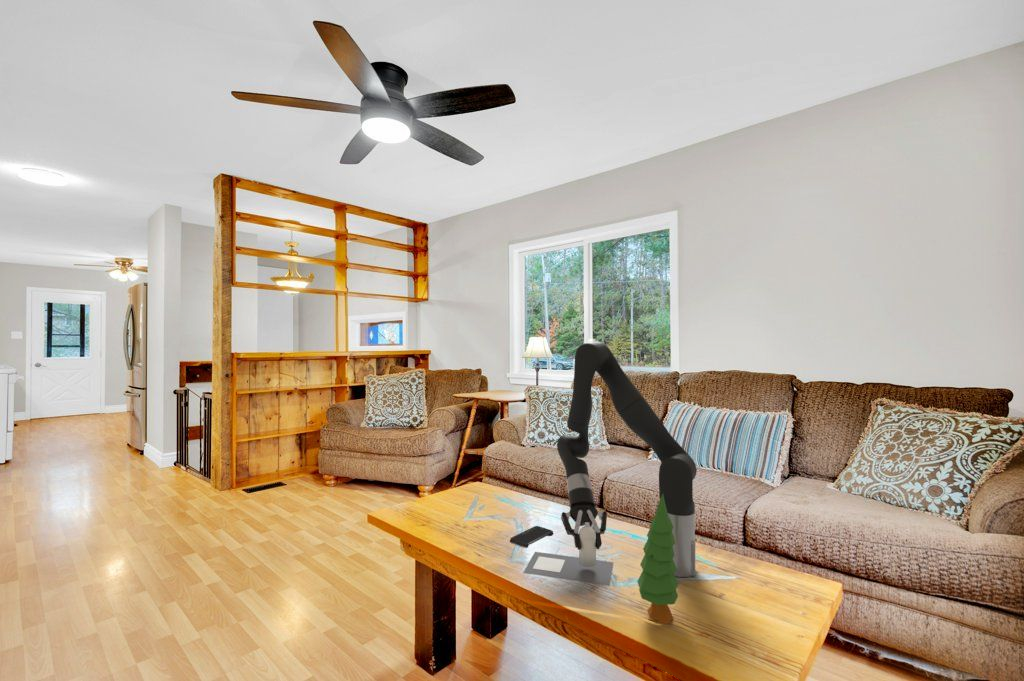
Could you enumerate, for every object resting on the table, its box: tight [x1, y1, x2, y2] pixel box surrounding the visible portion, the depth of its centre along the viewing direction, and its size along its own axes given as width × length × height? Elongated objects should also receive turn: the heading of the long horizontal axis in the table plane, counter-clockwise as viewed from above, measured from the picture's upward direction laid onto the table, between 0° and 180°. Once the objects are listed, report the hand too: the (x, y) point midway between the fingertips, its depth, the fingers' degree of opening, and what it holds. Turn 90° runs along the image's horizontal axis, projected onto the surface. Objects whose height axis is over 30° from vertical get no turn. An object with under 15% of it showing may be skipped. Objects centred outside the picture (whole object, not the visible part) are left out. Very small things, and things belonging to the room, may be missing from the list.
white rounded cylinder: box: [578, 522, 597, 567], centre depth 135 cm, size 5×5×12 cm
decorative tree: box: [637, 494, 680, 625], centre depth 114 cm, size 10×9×30 cm
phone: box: [509, 525, 554, 548], centre depth 159 cm, size 8×1×15 cm
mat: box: [522, 551, 614, 586], centre depth 137 cm, size 24×14×1 cm, turn 73°
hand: (589, 548), depth 133 cm, fingers closed on white rounded cylinder, 4 cm apart
